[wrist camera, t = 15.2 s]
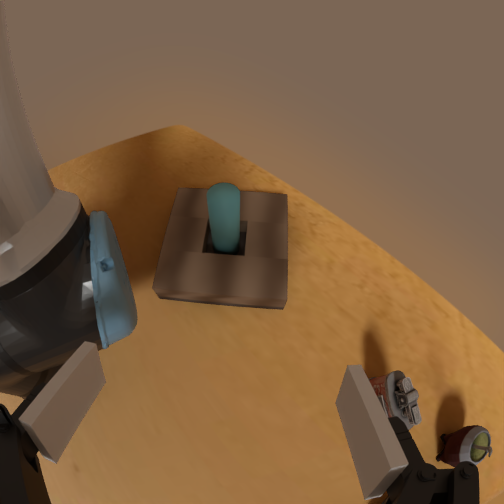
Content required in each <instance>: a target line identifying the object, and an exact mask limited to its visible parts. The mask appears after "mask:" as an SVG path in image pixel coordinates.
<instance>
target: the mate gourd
mask: <svg viewBox="0 0 504 504" xmlns="http://www.w3.org/2000/svg"><path fill="white" fill-rule="evenodd" d="M441 439H442V441H443V443H444V444H445V449H444V450H443V451H442V452H441V453H440V454H439V455H438V457H437V458H436V460H437V461H438V462H439V461H440V460H441V461H443V462H444V463H447V464H449V465H451V466H453V467H456V466H457V464H459V463H460V462H462V461H470V462H472V463H474V464H475V465H477V464H478V463H479V462H481V461H482V460H483V459H484V458H485V456H486V455H487V453H488V452H489V457H490V456H491V453H492V447H490V443H491V437H490V434H489V432H488V430H487V429H485V428H484V427H482V426H478V425H473V426H466V427H464V428H462V429H460V430H458V431H456V432H455V433H452V434H449V435H445V434H442V435H441Z"/></svg>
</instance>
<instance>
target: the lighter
mask: <svg viewBox="0 0 504 504" xmlns="http://www.w3.org/2000/svg"><path fill="white" fill-rule="evenodd" d="M368 380H369V382H370V383H371V385H372V387H373V389H374V391H375V393H376V395H377V397H378V399H379V402H380V404H381V406H382V408H383V410H384V412H385V414H386V416H387V418H389V417H395V416H398V417H399V418H400V419H401V420H402V421H403V422H404V423H405V424H406V426H407V428H408V430H409V429H411V428H412V427H413V426H414V425H418V424H419V423H420V422H421V415H420V411H419V407H418V404H417V399H418V397H419V395H418V392H417V390H416V389H414V388H413V386H412V382H411V379H410V378H409V377H405V375H404V374H403V372H401V371H393V372H391V373H389V374H388V375H384V376H381V377H377V378H376V377H373V378H369V379H368Z"/></svg>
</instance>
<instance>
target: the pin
mask: <svg viewBox="0 0 504 504" xmlns="http://www.w3.org/2000/svg"><path fill="white" fill-rule="evenodd" d="M207 204H208V212H209V220H210V228H211V235H212V242H213V249H214V252H215V254H226V255H237V253H238V252H239V247H240V191H239V189H238V188H237V187H236V186H234V185H233V184H230V183H218V184H215V185H213V186H212V187H211V188H210V189H209V190H208V192H207Z"/></svg>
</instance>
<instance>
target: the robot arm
mask: <svg viewBox="0 0 504 504" xmlns="http://www.w3.org/2000/svg"><path fill="white" fill-rule="evenodd" d="M4 5H5V4H4V0H0V392H2V393H6V394H11V395H16V396H20V397H22V398H23V399H24V401H23V402H22V403H21V404H20V405H19V407H18V408H17V409H16V410H15V411H14V413H13V414H12V415H10V413H9V412H8V410H7V408H6V407H5V406H4V405H3V404H0V504H51V502H50V499H49V495H48V492H47V489H46V486H45V482H44V479H43V475H42V471H41V467H40V463H39V459H38V457H37V455H36V454H37V452H38V451H40V453H41V454H42V456H43V457H44V458H46V459H48V460H50V461H52V462H54V463H56V464H57V462H58V460H59V458H60V457H61V455H62V453H63V451H64V450H65V448H66V446H67V444H68V443H69V441H70V439H71V438H72V436H73V434H74V433H75V431H76V429H77V428H78V426H79V424H80V423H81V421H82V419H83V418H84V416H85V414H86V413H87V411H88V410H89V408H90V406H91V405H92V403H93V402H94V400H95V398H96V397H97V395H98V394H99V392H100V391H101V389H102V387H103V386H104V384H105V383H106V380H105V377H104V373H103V370H102V366H101V362H100V358H99V354H98V351H99V350H101V349H106V348H108V347H109V345H111V344H113V343H115V342H117V341H119V340H121V339H123V338H125V337H127V336H128V335H130V334H131V333H132V331H133V330H134V329H135V326H136V324H137V309H136V304H135V300H134V296H133V292H132V288H131V285H130V281H129V277H128V274H127V270H126V267H125V263H124V260H123V256H122V253H121V250H120V246H119V243H118V240H117V237H116V234H115V231H114V228H113V225H112V223H111V221H110V219H109V218H108V215H107V213H106V212H104V211H98V212H97V211H93V212H91V214H90V215H89V216H88V215H87V214H86V212H85V210H84V208H83V206H82V204H81V202H80V199H79V198H78V196H77V195H76V194H74V193H70V192H66V191H62V190H58V189H57V188H55V187H54V185H53V183H52V181H51V178H50V176H49V174H48V171H47V169H46V167H45V164H44V162H43V159H42V157H41V154H40V152H39V149H38V147H37V144H36V141H35V139H34V136H33V133H32V130H31V127H30V124H29V121H28V118H27V115H26V112H25V109H24V105H23V102H22V98H21V95H20V91H19V87H18V83H17V79H16V75H15V71H14V66H13V62H12V57H11V51H10V46H9V39H8V33H7V25H6V16H5V6H4ZM336 406H337V409H338V412H339V416H340V419H341V422H342V425H343V428H344V431H345V435H346V438H347V441H348V444H349V448H350V451H351V454H352V458H353V461H354V464H355V468H356V471H357V474H358V478H359V481H360V485H361V488H362V492H363V495H364V499H365V500H367V499H372V498H376V497H380V496H382V495H383V494H384V493H385V491H386V490H387V493H388V497H387V498H386V499H385V500H384V501H383V502H382V504H479V472H478V468H477V467H476V465H475V464H474V463H472V462H470V461H462V462H460V463H459V464H457V466H456V467H455V468H454V469H437V468H436V467H435V466H433V465H431V464H428V463H425V461H424V460H423V458H422V456H421V454H420V452H419V450H418V448H417V446H416V444H415V442H414V440H413V439H412V436H411V434H410V432H409V430H408V428H407V426H406V424H405V423H404V422H403V421H402V420H401V419H400V418H399V417H398V416H395V417H389V418H387V416H386V414H385V412H384V410H383V408H382V406H381V404H380V402H379V399H378V397H377V395H376V393H375V391H374V389H373V387H372V385H371V383H370V382H369V380H368V378H367V376H366V374H365V372H364V370H363V368H362V366H361V365H347V369H346V372H345V375H344V378H343V382H342V385H341V388H340V391H339V394H338V397H337V400H336Z"/></svg>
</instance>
